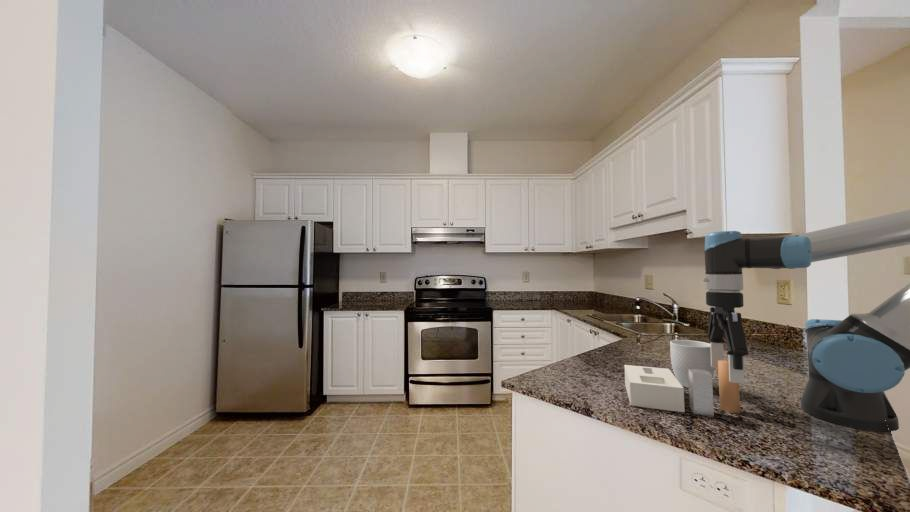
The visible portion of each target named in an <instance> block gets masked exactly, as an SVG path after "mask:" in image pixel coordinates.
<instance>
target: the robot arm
mask: <svg viewBox="0 0 910 512" xmlns="http://www.w3.org/2000/svg"><path fill="white" fill-rule="evenodd" d="M909 245H910V209H906V210H900V211H897V212H893V213H889V214H883V215H880V216H876V217H875V216H874V217H871V218H866V219H862V220H857V221H854V222H848V223H845V224H840V225H836V226H831V227H828V228H826V227H825V228H823V229H819V230H814V231H809V232H806V233H801V234H797V235H786V236H770V237H769V236H768V237H755V238H754V237H753V238H747V237H745V238H744V237H743V236H742V233H741V232H740V231H738V230H737V231H736V230H723V231H713V232H708V233H707V234H706V235H705V236H704V250H703V251H704V266H705V267H704V269H705V273H704V274H705V277H704V278H702V279H703V280H702V281H703V282H705V289H706V290H708V291H706V292H705V304H706V305H707V306H709V307H710V308H709V312H710V313H709V314H710V315H709V322H708V327H707V328H708V329H707V335H706V337H707V339H709V340H708V341H709V342H710V343H709V344H710V350H711V366H712V367H714V368H718V360H724V358H725V357H724V343H725V340H726V343H727V347H728V349H729V350H727V352H726V355H728V357H727V358H728V361H729V381H730V382H733V383H739V384H745V383H746V382H745V356H748V355H749V351H748V350H749V349H748V345H747V341H746V337H745V331H744V327H743V322H742V313H741V312H736V310H735V309H736V308H737V309H738V308H739V309H740V308H741V309H742V308H743V307H744V294H743V292H741V291H743V290H744V277H743V276H744V275H743V269H773V270H780V269H788V270H789V269H790V270H792V269H793V270H795V269H806V268H809V267H810V266H811V265H812V263H815V262H820V261H827V260H831V259H832V260H833V259H838V258H843V257H848V256H849V257H850V256H853V255H858V254H859V255H860V254H865V253H871V252H876V251H882V250H887V249H893V248H897V247H898V248H899V247H904V246H909ZM805 323H806V324H805V328H804V332H805V334H806V349H807V350H806V351H807V364H808V381H807V383H806V385H805V387H804V391H803V393H802V394H801V398H800V408H801V410H802V411H803V412H805V413H806V414H809V415H811V416H813V417H815V418H818V419H820V420H823V421H827V422H828V423H829V422H830V423H832V424H833V423H834V424H838V425H841V426H845V427H850V428H855V429H859V430H860V429H861V430H868V431H876V432H895V431H898V430H899V429H900V424H899V418H898V416H897V414H896V412H895V410H894V407H893V406H892V404H891V402H890V401H889V399H888V396H887V395H886V393H885V392H887V391H889V390H891V389H893V388H895V387H896V386H897V385H899V384H900V383H901V381H902V380H903V378H904V376H905V371H907V370H909V369H910V282H908V284H906V285H905V286H903V287H902V288H900V290H898V291H896V293H894V294H893V295H891V296H890V297H888V298H887V299H886V300H884V301H883V302H882V303H880V304H879V305H877V306H876V307H875V308H873V309H872V310H870V312H867V313H851V314H849V316H847V317H846V318H844V319H843V320H842V319H841V320H838V319H819V318H817V319H815V318H813V319H811V318H810V319H809V320H807V321H806V322H805ZM724 335H725V340H724ZM885 420H886V421H885ZM887 425H888V426H887ZM888 428H889V430H890V431H889V430H888Z"/></svg>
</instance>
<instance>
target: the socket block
mask: <svg viewBox="0 0 910 512" xmlns="http://www.w3.org/2000/svg"><path fill="white" fill-rule="evenodd" d="M624 385H625V389H626V393H627V396H628V400H629V405H630V406H632V407H641V408H646V409H647V408H648V409H653V410H654V409H656V410H663V411H670V412H671V411H672V412H679V413H685V389H684V388H685V387H684V386H682V385H681V384H680V383H679V381H678V380H677V379H676V377H675V374H674V372H673V371H671V369H670V368H666V367H665V368H664V367H655V366H654V367H653V366H642V365H630V364H624Z"/></svg>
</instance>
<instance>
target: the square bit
mask: <svg viewBox="0 0 910 512" xmlns="http://www.w3.org/2000/svg"><path fill="white" fill-rule="evenodd" d="M688 374H689V388H688V393H689V408H690V410H691V411H692V413H693V414H694V415H699V414H700V415H701V416H707V415H711V416H710V417H715V413H714V412H715V411H714V390H713V383H712V379H713V377H712V374H711V373H709V372H708V371H707V370H698V369H688Z"/></svg>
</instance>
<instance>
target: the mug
mask: <svg viewBox="0 0 910 512" xmlns="http://www.w3.org/2000/svg"><path fill="white" fill-rule="evenodd" d="M669 344H670V347H669V348H670V349H669V350H670V351H669V352H670V353H669V354H670V363H671V368H672V370H673V371H672V373H673V375H674V376H675V377H676V379H677V380H678V381H679V383H680V384H681V385H682V387H683V388H688V389H689V374H688V369H698V370H707V371H708V372H709V373H711V374H712V385H713V384H715V385H716V384H718V385H719V379H718V380H716V379H713V376H714V373H715V372H714V371H715V367H712V366H711V350H710V343H708V342H704V341H700V340H699V341H698V340H689V339H688V340H687V339H673V340H670V341H669ZM724 360H727V359H726V358H725V357H724Z"/></svg>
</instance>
